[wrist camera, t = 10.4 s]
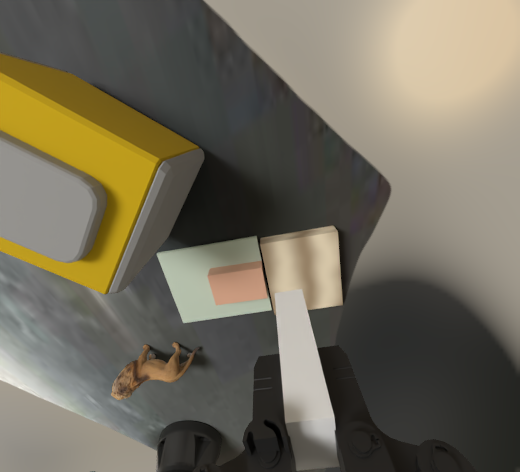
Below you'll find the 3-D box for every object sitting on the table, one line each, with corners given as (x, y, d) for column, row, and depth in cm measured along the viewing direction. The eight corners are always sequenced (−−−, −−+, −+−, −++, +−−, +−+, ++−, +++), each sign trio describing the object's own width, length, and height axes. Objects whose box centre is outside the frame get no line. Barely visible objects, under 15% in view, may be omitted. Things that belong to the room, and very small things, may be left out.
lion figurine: (136, 364, 53) (114, 408, 45) (126, 346, 51) (100, 388, 43) (203, 354, 52) (193, 397, 44) (195, 334, 50) (183, 376, 42)
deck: (273, 305, 47) (274, 314, 45) (260, 238, 41) (260, 244, 39) (338, 295, 46) (342, 304, 44) (333, 225, 41) (337, 231, 38)
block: (218, 296, 46) (215, 305, 43) (209, 268, 43) (207, 275, 41) (267, 289, 45) (267, 298, 43) (261, 260, 43) (261, 267, 40)
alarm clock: (47, 178, 38) (-127, 220, 21) (72, 70, 32) (-135, 7, 15) (170, 238, 42) (108, 314, 25) (211, 150, 36) (168, 170, 19)
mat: (184, 321, 48) (183, 323, 48) (157, 252, 43) (156, 254, 42) (271, 308, 47) (271, 310, 47) (256, 235, 41) (256, 236, 41)
